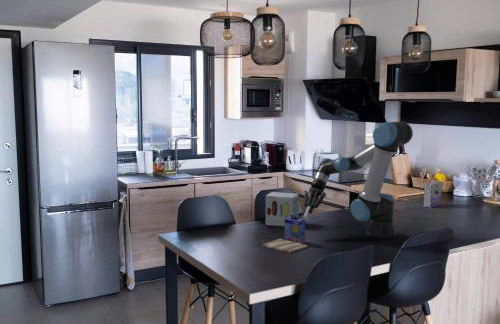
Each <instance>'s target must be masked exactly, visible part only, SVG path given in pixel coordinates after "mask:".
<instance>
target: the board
mask: <svg viewBox="0 0 500 324" xmlns="http://www.w3.org/2000/svg"><path fill="white" fill-rule="evenodd" d="M261 246H262V247H264V248H268V249H273V250H276V251H279V250H280V252H283V251H284V252H283V253H288V254H291V253H292V254H293V253H294V252H297V251H300V250H303V249H307V248H308V244H304V243H301V244H300V243H296V242H292V241H287V240H285V239H283V238H279V239H275V240H272V241H268V242H266V243H262V245H261Z"/></svg>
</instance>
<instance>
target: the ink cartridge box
mask: <svg viewBox="0 0 500 324" xmlns="http://www.w3.org/2000/svg"><path fill="white" fill-rule="evenodd" d="M290 216H291V217H289V218H285V227H284V240H287V241H292V242H296V243H300V244H304V243H306V219H305V218H300V217H299V218H297V217H296V216H295V215H290ZM292 216H294V217H292ZM295 217H296V218H295Z"/></svg>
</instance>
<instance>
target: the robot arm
mask: <svg viewBox="0 0 500 324" xmlns="http://www.w3.org/2000/svg"><path fill="white" fill-rule="evenodd" d="M372 132H373V133H372V139H373V143H372V144H370V145H369V146H367V147H365V148H364V149H362V150H360V151H358V152H357V153H356V154H354V155H352V156H350V157H349V156H348V157H345V156H342V157H337V158H335V159H331V158H329V157H324V158H322V159H321V161H320V162H319V164H318V165H319V166H318V168H317V171H316V172H315V176H314V178H313V180H312V183H311V185H310V187H309V189H308V190H304V191H303V192H304V198H303V205H304V214H303V217H304V218H303V219H304V220H309V217H310V215H311V214H312V213H313V211H314V209H318V207H319V206H320V205H321V203H322V202H323V200H324V198H326V197H327V193H326V191H325V189H326V185H327V183H328V181H329V178H330V176H331V175H333V174H337V173H343V172H351V171H358V170H361V169H363V168H364V166H365V165H366V164H368V163H370V162H371V163H370V167H369V170H368V174H367V176H366V179H365V182H364V186H363V189H362V190H361V191H358V195H357V198H356V199H354V200H352V201H351V204H350V212H351V213H352V214H351V215H352V216H353V218H354V219H356V220H357V221H359V222H367V221H370V223H369V225H368V228H367V232H366V233H367V234H366V235H367V236H369V237H370V238H375V239H382V240H383V239H384V240H386V239H393V238H396V237H397V231H396V227H395V224H394V203H395V202H394V201H395V200H394V196H393V195H392V194H389V193H381V191H382V188H383V184H384V183H385V182H384V181H385V179H386V176H387V172H388V170H389V167H390V164H391V161H392V157H393V155H394V154H397V152H398V149H399V148H401V147H403V146H404V145H406V144H408V143H410V141H411V140H412V138H413V136H414V133H413V128H412V127H411V125H410V124H409V123H407V122H405V121H385V122H381V123H379V124H378V125H376V126H375V128H374V129H373V131H372ZM324 191H325V192H324Z"/></svg>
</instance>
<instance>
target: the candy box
mask: <svg viewBox="0 0 500 324" xmlns="http://www.w3.org/2000/svg"><path fill="white" fill-rule="evenodd" d="M442 184H443V183H442V182H441V181H440V182H439V181H431V182H427V183H424V184H423V204H422V206H423V208H428V209H433V208H436V207H439V206H441V205H442V190H443V189H442V187H443V185H442Z"/></svg>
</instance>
